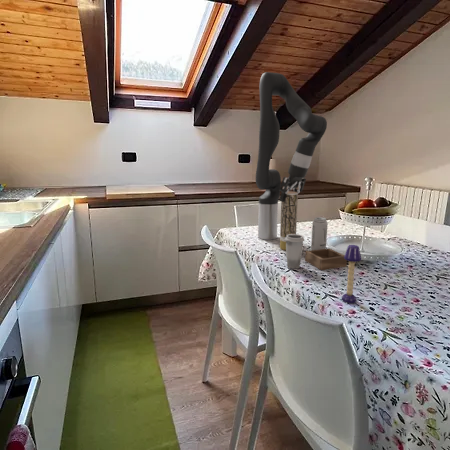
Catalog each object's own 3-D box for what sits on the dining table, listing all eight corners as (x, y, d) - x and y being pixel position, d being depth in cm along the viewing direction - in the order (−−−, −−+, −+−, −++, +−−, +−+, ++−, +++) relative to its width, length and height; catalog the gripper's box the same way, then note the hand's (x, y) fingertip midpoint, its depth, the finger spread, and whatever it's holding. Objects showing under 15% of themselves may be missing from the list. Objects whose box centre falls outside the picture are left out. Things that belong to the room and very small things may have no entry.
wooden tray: (305, 260, 136) (305, 251, 135) (328, 257, 139) (329, 248, 138) (321, 270, 125) (322, 259, 125) (346, 266, 129) (347, 256, 128)
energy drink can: (323, 256, 141) (325, 220, 137) (308, 253, 144) (310, 219, 140) (327, 252, 146) (329, 217, 142) (313, 250, 149) (315, 216, 145)
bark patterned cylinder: (295, 251, 147) (297, 193, 142) (279, 250, 149) (281, 193, 143) (295, 246, 154) (297, 191, 148) (280, 246, 155) (281, 191, 149)
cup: (304, 264, 131) (305, 234, 128) (302, 270, 125) (303, 239, 122) (285, 262, 134) (286, 233, 131) (282, 268, 127) (283, 237, 125)
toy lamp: (338, 296, 104) (342, 243, 100) (353, 296, 104) (357, 243, 100) (345, 303, 99) (349, 248, 95) (360, 303, 100) (365, 248, 96)
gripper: (301, 162, 148) (289, 196, 154) (283, 160, 138) (270, 198, 144) (316, 167, 143) (303, 203, 149) (298, 167, 133) (284, 205, 139)
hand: (287, 200), depth 147 cm, fingers open, 8 cm apart
